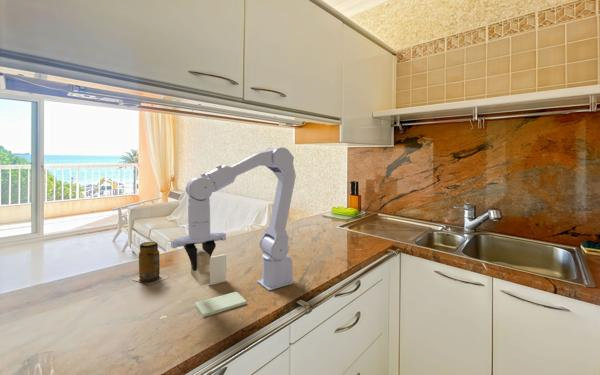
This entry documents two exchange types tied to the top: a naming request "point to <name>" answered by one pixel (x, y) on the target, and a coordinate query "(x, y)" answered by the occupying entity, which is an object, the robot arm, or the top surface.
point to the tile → (217, 269)
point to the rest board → (220, 303)
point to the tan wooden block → (202, 267)
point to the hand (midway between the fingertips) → (200, 268)
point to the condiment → (149, 264)
